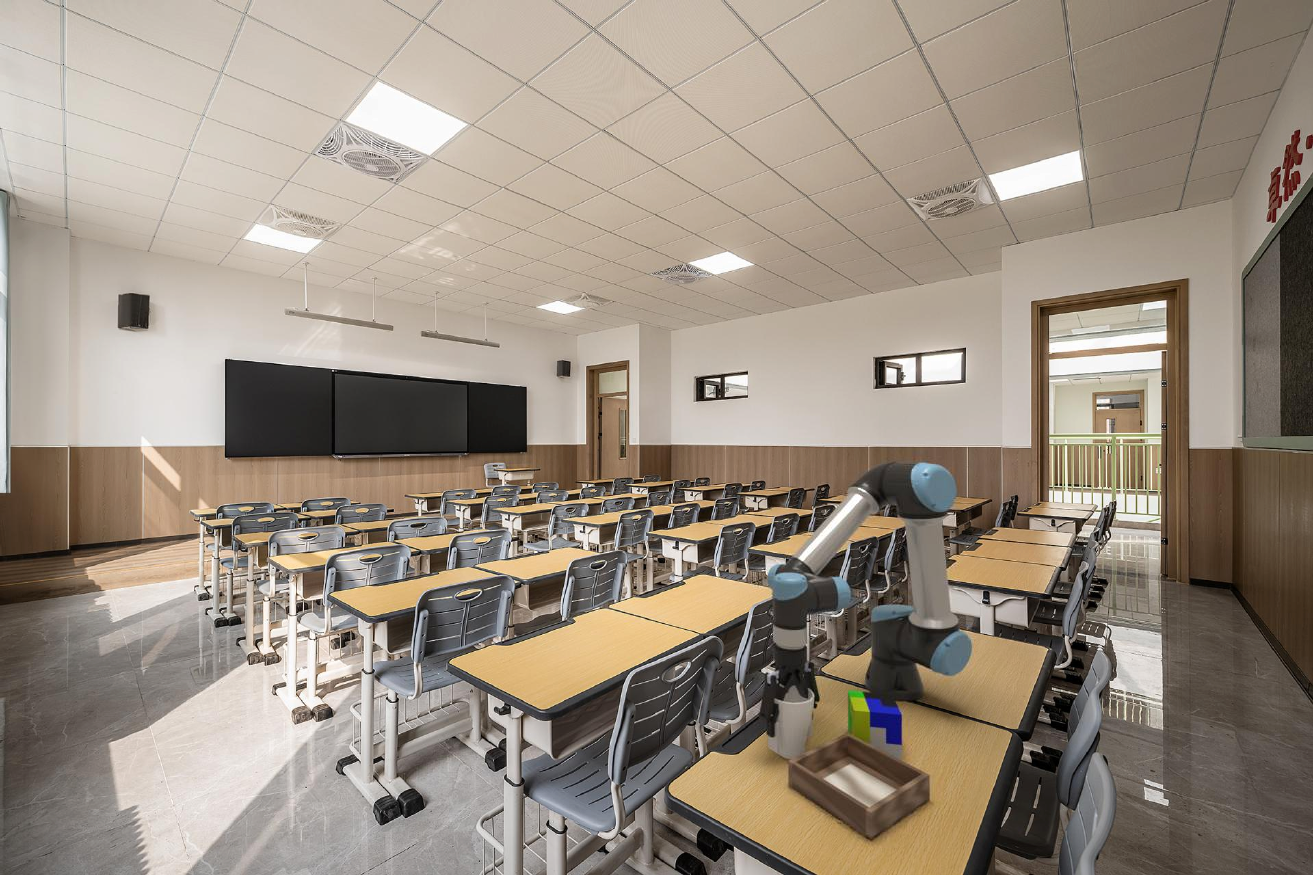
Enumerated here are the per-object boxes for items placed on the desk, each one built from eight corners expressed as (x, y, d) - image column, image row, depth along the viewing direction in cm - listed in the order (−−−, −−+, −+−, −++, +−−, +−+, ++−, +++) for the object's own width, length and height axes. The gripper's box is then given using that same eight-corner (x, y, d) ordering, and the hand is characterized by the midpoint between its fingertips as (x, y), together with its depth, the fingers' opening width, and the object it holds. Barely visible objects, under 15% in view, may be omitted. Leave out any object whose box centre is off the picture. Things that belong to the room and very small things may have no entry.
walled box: (847, 754, 124) (846, 732, 124) (929, 800, 108) (929, 774, 108) (788, 785, 113) (788, 760, 113) (870, 840, 97) (870, 812, 97)
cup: (806, 771, 118) (806, 707, 118) (759, 756, 123) (759, 695, 123) (820, 747, 127) (819, 688, 127) (776, 735, 132) (775, 678, 132)
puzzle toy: (902, 760, 122) (901, 714, 122) (854, 755, 124) (854, 710, 124) (892, 736, 132) (892, 693, 132) (848, 731, 134) (847, 690, 134)
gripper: (810, 628, 135) (810, 720, 134) (741, 649, 122) (741, 750, 122) (835, 637, 128) (836, 733, 128) (766, 660, 115) (766, 767, 115)
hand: (790, 742), depth 125 cm, fingers closed on cup, 10 cm apart
